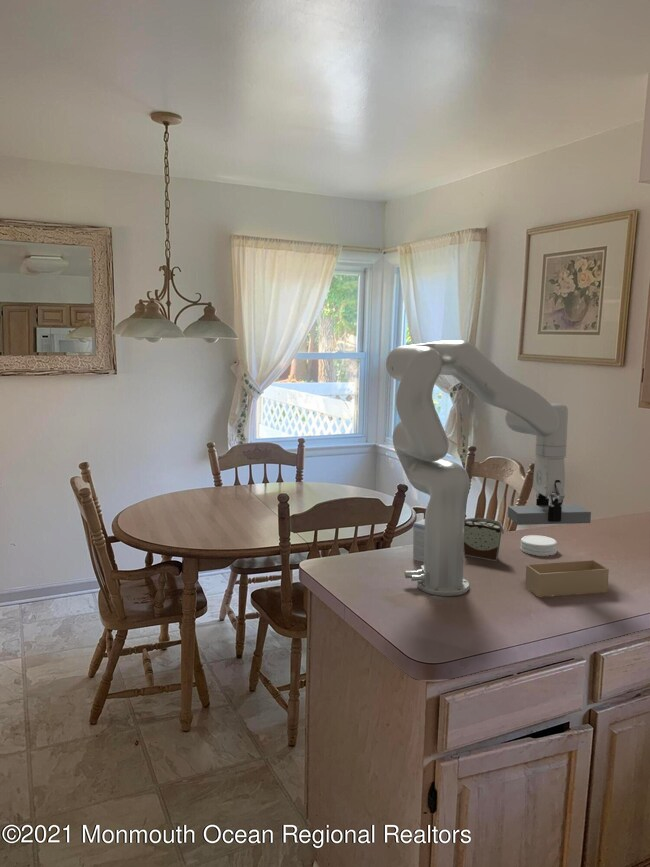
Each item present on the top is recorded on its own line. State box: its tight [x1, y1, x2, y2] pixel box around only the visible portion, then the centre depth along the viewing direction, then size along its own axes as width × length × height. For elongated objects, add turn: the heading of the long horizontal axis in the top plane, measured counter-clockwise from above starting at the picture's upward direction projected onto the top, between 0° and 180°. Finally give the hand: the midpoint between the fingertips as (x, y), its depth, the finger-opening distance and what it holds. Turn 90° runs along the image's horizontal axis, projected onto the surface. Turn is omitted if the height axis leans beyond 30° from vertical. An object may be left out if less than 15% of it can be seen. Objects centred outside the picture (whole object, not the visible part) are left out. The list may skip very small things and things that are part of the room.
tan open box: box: [524, 560, 610, 598], centre depth 154 cm, size 18×6×6 cm, turn 100°
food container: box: [464, 517, 505, 562], centre depth 179 cm, size 12×6×10 cm, turn 58°
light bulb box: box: [412, 518, 425, 563], centre depth 177 cm, size 11×7×11 cm, turn 141°
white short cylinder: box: [520, 534, 558, 557], centre depth 183 cm, size 10×10×4 cm
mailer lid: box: [507, 504, 592, 526], centre depth 166 cm, size 19×8×3 cm, turn 93°
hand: (548, 516), depth 166 cm, fingers closed on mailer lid, 7 cm apart
